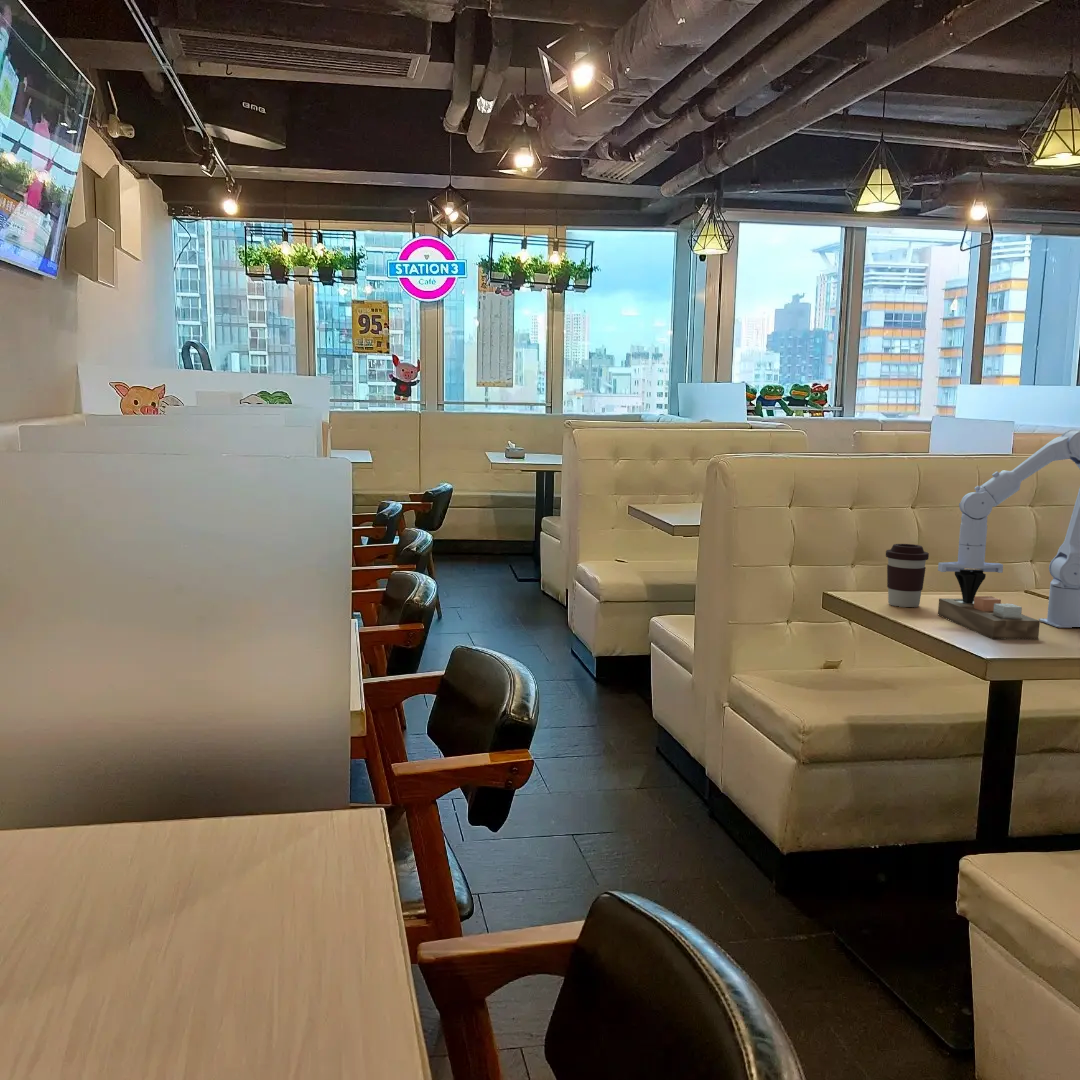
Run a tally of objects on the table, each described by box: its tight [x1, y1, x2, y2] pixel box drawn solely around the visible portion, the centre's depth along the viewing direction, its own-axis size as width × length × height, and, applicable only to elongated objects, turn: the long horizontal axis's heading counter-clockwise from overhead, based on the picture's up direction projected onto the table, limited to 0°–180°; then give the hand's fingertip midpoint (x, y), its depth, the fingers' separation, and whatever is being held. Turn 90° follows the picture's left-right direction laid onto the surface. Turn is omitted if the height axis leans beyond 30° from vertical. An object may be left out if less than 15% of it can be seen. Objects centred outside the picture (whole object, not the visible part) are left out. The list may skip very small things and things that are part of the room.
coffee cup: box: [885, 543, 930, 608], centre depth 247 cm, size 10×10×15 cm
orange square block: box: [974, 595, 1002, 611], centre depth 223 cm, size 4×4×3 cm
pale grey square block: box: [993, 603, 1023, 619], centre depth 215 cm, size 4×4×3 cm
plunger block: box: [937, 597, 1041, 640], centre depth 224 cm, size 10×25×4 cm, turn 4°
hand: (967, 602), depth 232 cm, fingers closed, pressing on steel plunger 1
